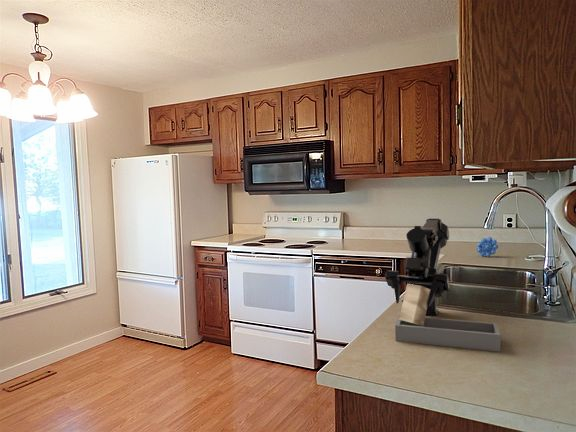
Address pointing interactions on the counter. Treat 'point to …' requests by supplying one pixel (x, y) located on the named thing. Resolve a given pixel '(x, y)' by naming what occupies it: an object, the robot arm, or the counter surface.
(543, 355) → the counter surface
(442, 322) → the box
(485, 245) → the grapes
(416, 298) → the birch block
